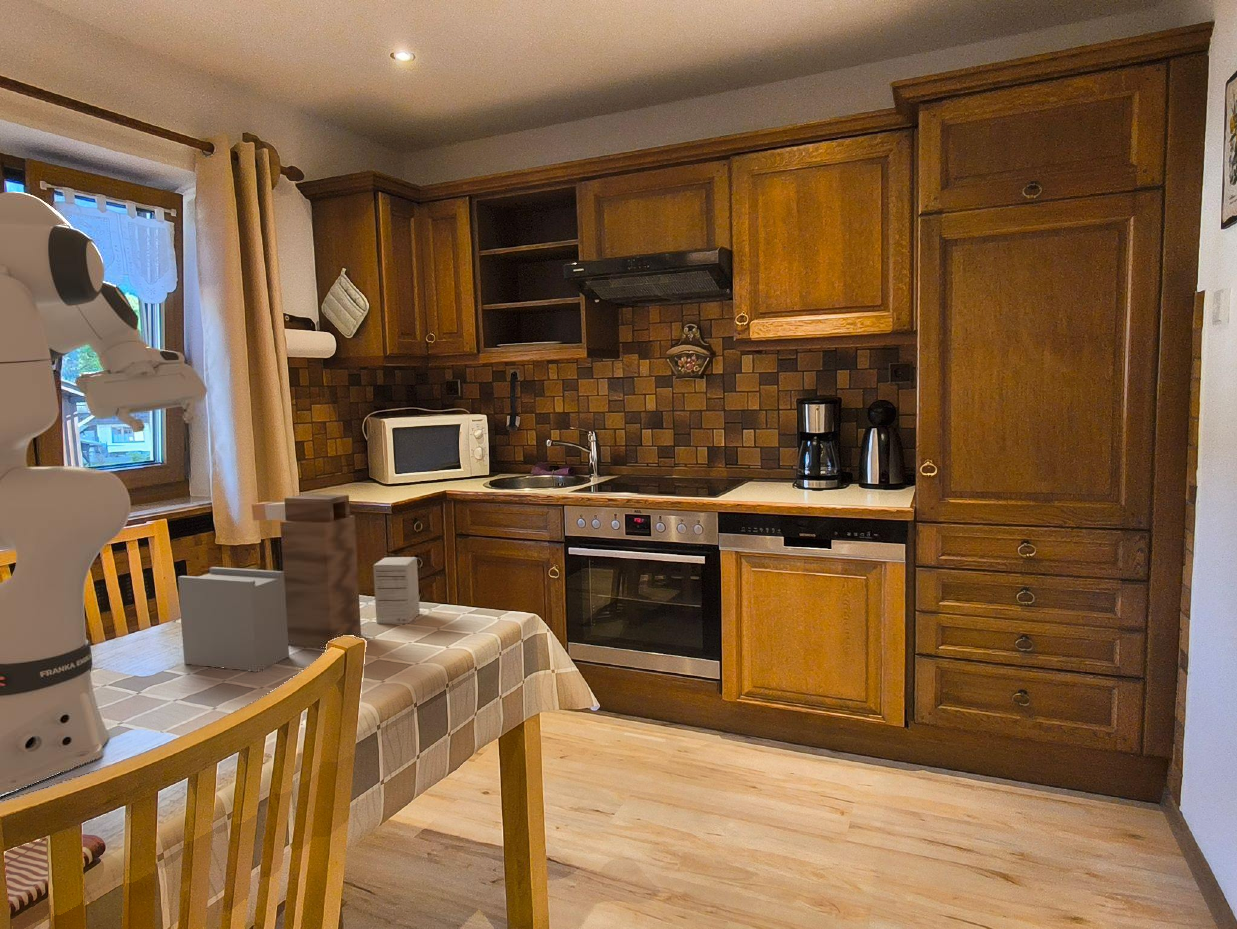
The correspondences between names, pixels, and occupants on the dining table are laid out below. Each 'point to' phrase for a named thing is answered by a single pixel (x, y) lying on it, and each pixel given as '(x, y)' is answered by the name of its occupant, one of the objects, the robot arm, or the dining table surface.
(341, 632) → the holster tower
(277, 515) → the beige rectangular bar
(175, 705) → the dining table surface
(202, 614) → the block
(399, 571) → the supplement box
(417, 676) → the dining table surface
